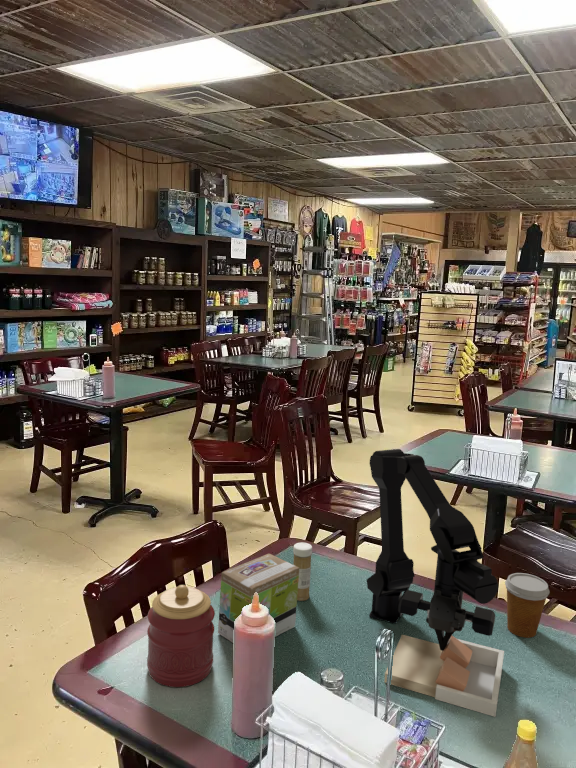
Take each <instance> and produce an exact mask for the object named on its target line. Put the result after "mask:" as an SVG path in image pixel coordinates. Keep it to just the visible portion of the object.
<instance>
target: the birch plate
mask: <svg viewBox="0 0 576 768" xmlns="http://www.w3.org/2000/svg"><path fill="white" fill-rule="evenodd" d="M441 652H442V650H440V647H439V643H436V642H431V641H428V640H424V639H421V638H420V639H419V638H418V637H412V636H408V635H406V634H405V635H404V634H401V635H400V638H399V641H398V642H397V644H396V648H395V650H394V653H393V654H394V655H393V654H392V656H393V666H392V680H391V684H390V685H391V686H392V685H393V686H395V687H399V688H402V689H405V690H409V691H413V692H416V693H420V694H423V695H427V696H428V697H433V698H435V695H436V686H437V683H436V682H435V681H436V678H437V676H438V673H439V670H440V667H441V666H442V664H443V662H444V661H443V660H442V659H441V658H440V655H441ZM387 675H388V667H387V668H386V671H384V684H387V683H386V682H387ZM438 685H439V684H438Z"/></svg>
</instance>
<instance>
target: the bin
mask: <svg viewBox="0 0 576 768" xmlns="http://www.w3.org/2000/svg"><path fill="white" fill-rule="evenodd" d="M457 639H458V640H459V641H460V642H461V643H463V644H464V645H465V646H467V647H468V648H469V649H471V650H472V655H471V659H470V662H469V665H468V666H467V667H466V668H465V669H466V670H468V671H470V674H469V678H468V682H467V685H466V688H465V689H464V691H459V690H456V689H452V688H449V687H445V686H442V685H438V684H437V686H436V695H435V697H434V699H435V700H436V701H441V702H444V703H448V704H450V705H453V706H454V705H455V706H457V707H461V708H464V709H468V710H471V711H473V712H478V713H479V714H484V715H488V716H492V717H494V718H496V716H497V708H498V701H499V693H500V687H501V681H502V680H501V679H502V673H503V663H504V656H505V650H501V649H498V648H494V647H490V646H487V645H486V646H485V645H483V644H479V643H474V642H471V641H467V640H463V639H459V638H457Z"/></svg>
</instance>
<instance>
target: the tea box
mask: <svg viewBox="0 0 576 768" xmlns="http://www.w3.org/2000/svg"><path fill="white" fill-rule="evenodd" d="M220 576H221V578H220V590H219V605H218V606H219V609H218V622H217V623H218V625H217V634H219V635H220V636H222V637H223V638H225V639H226V640H228V641H229V642H230V643H233V630H234V621H235V619H236V618H237V617H238V616H239V615H240V614H241V611H242V608H243V607H244V606H246V605H249V604H251V603H252V599H253V595H254V593H255V592H257V593H258V595H259V602H260V604H262V605H264V606H266V607H267V608H268V609H269V614H270V615H271V616H272V617H273V618H274V620H275V622H276V636H275V637H274V638H276V637H277V636H279V635H281V634H283V633H286V632H287V631H289V630H291V629H293V628H295V626H296V619H297V607H298V606H297V605H298V600H297V594H298V581H299V567H297V566H295V565H293V564H292V563H290V562H288V561H286V560H284V559H282V558H280V557H277V556H276V555H273V554H271V553H267V554H264V555H262V556H259V557H256V558H254V559H252V560H250V561H247V562H245V563H242V564H240V565H237V566H235V567H232V568H230V569H227V570H224V571H222V572H221V575H220ZM233 644H234V643H233Z"/></svg>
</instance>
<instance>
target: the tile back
mask: <svg viewBox="0 0 576 768" xmlns="http://www.w3.org/2000/svg"><path fill="white" fill-rule="evenodd" d="M458 639H459V638H456V637H455V636H453V635H452V636H451V637H450V639H449V641H448V643H447V645H446V647H445V649H444V650H443V651H442V652H441V655H440V658H441V659H442V660H443V661H445V659H446V657H448V658H450V659H451V660H453V661H454V662H456V663H457V664H459V665H460V666H462V667H463V668H466V667H467V666H468V665H469V662H470V659H471V655H472V650H471V649H469V648H468V647H467V646H465V645H464V644H463V643H461V642H460V641H459V640H458Z"/></svg>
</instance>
